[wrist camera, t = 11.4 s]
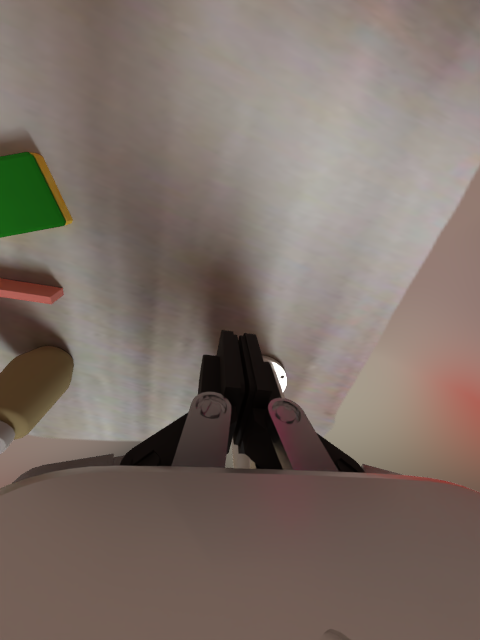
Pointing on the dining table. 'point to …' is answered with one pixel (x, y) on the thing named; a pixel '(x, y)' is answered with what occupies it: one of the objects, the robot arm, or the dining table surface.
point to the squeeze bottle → (31, 390)
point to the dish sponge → (29, 196)
